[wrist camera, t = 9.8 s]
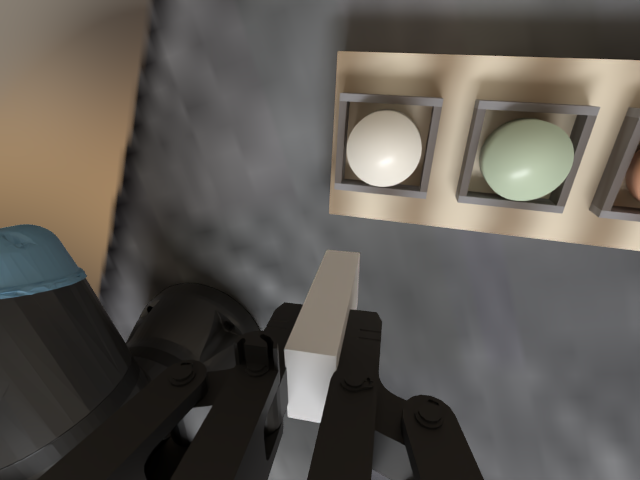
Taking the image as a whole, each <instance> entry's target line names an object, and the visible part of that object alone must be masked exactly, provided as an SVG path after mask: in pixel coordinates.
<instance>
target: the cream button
mask: <svg viewBox="0 0 640 480" xmlns="http://www.w3.org/2000/svg"><path fill="white" fill-rule="evenodd" d="M421 151H422V145H421V138H420V133H419V130H418V128H417V126H416V125H415V123H414V122H413V121H412V119H411V118H409V117H408V116H407V115H405V114H404V113H402V112H400V111H397V110H392V109H383V110H378V111H375V112H372V113H370V114H369V115H367V116H366V117H364V118H363V119H362V120H361V121H360V122H359V123H358V124H357V125H356V126H355V127H354V129H353V130H352V132H351V134H350V136H349V139H348V142H347V158H348V162H349V165H350V167H351V169H352V170H353V172H354V173H355V174H356V175H357V176H358V177H359V178H360V179H361V180H362V181H364V182H366V183H368V184H370V185H373V186H378V187H387V186H393V185H396V184H398V183H400V182H402V181H404V180H405V179H407V178H408V177H409V176H410V175H411V174H412V173H413V172H414V170H415V169H416V167H417V165H418V163H419V160H420V157H421Z"/></svg>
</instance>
